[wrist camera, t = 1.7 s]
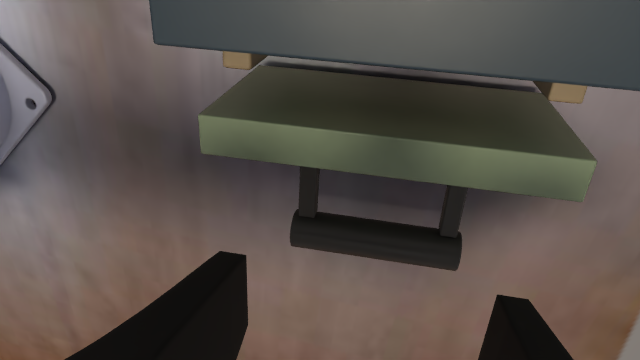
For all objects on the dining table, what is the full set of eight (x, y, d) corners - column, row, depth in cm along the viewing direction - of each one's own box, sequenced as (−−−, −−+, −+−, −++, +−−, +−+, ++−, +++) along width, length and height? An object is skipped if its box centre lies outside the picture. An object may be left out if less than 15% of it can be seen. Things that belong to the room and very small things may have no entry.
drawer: (504, 232, 19) (535, 336, 14) (260, 198, 21) (209, 282, 16) (670, -361, 11) (874, -602, 6) (255, -351, 13) (149, -541, 8)
